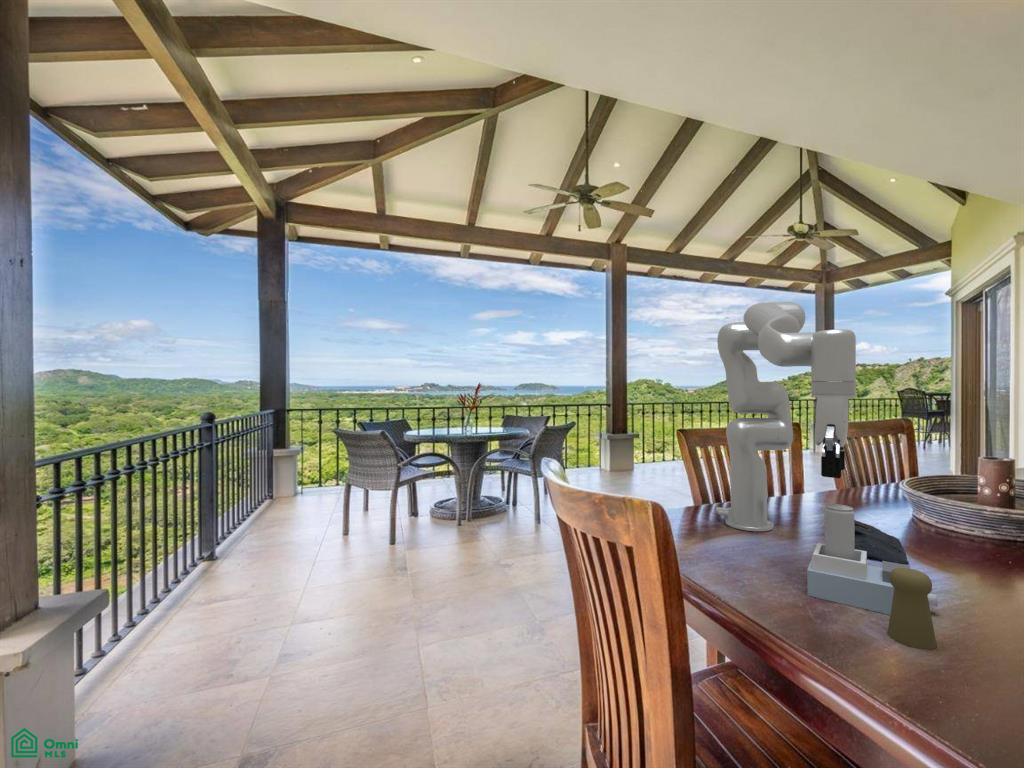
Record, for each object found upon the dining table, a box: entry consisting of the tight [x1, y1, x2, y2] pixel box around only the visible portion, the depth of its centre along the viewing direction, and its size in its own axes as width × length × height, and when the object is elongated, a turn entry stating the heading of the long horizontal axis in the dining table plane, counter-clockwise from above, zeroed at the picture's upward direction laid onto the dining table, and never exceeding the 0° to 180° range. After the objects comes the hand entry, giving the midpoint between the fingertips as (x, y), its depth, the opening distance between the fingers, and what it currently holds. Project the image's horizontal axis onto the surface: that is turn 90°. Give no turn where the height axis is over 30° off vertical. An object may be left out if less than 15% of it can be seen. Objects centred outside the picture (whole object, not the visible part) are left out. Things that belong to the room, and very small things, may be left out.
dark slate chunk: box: [854, 519, 910, 565], centre depth 117 cm, size 15×22×5 cm
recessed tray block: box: [806, 542, 939, 616], centre depth 88 cm, size 19×10×8 cm, turn 51°
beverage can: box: [823, 503, 855, 560], centre depth 91 cm, size 5×5×12 cm
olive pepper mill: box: [887, 568, 938, 650], centre depth 74 cm, size 6×6×11 cm
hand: (833, 473), depth 95 cm, fingers open, 9 cm apart
